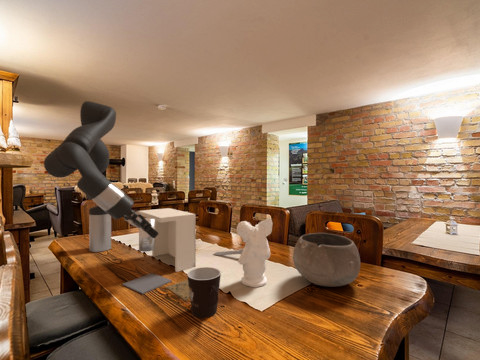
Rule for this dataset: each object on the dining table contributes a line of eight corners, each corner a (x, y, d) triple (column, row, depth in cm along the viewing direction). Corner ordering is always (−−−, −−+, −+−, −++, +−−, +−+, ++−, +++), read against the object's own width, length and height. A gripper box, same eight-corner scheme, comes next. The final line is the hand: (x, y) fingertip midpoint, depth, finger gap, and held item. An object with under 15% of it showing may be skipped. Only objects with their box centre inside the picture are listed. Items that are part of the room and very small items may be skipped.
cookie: (196, 277, 86) (196, 275, 86) (217, 289, 78) (217, 286, 78) (164, 288, 78) (164, 285, 78) (184, 302, 69) (184, 299, 69)
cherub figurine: (234, 284, 80) (233, 217, 80) (246, 271, 92) (245, 212, 91) (270, 290, 76) (269, 219, 76) (278, 275, 87) (277, 213, 87)
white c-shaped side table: (138, 258, 105) (138, 210, 105) (169, 252, 114) (169, 208, 114) (160, 276, 87) (160, 217, 86) (195, 266, 96) (195, 214, 95)
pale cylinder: (135, 249, 80) (135, 219, 80) (149, 246, 84) (149, 217, 84) (144, 252, 77) (144, 220, 77) (158, 248, 81) (158, 218, 81)
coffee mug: (189, 303, 68) (189, 267, 68) (220, 302, 69) (220, 266, 68) (183, 329, 56) (183, 286, 56) (221, 327, 57) (221, 284, 57)
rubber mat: (122, 284, 79) (122, 283, 79) (151, 274, 88) (151, 272, 88) (142, 294, 73) (142, 292, 73) (171, 281, 82) (171, 280, 82)
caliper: (256, 260, 104) (256, 245, 104) (255, 261, 103) (255, 246, 103) (213, 254, 112) (213, 240, 112) (212, 255, 111) (212, 241, 111)
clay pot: (356, 274, 88) (356, 233, 88) (365, 303, 68) (365, 249, 68) (296, 267, 95) (296, 229, 95) (288, 291, 75) (288, 242, 75)
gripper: (129, 192, 70) (169, 228, 78) (116, 190, 81) (152, 222, 89) (109, 212, 67) (153, 248, 75) (98, 207, 78) (137, 239, 86)
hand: (152, 234), depth 82 cm, fingers closed on pale cylinder, 5 cm apart
